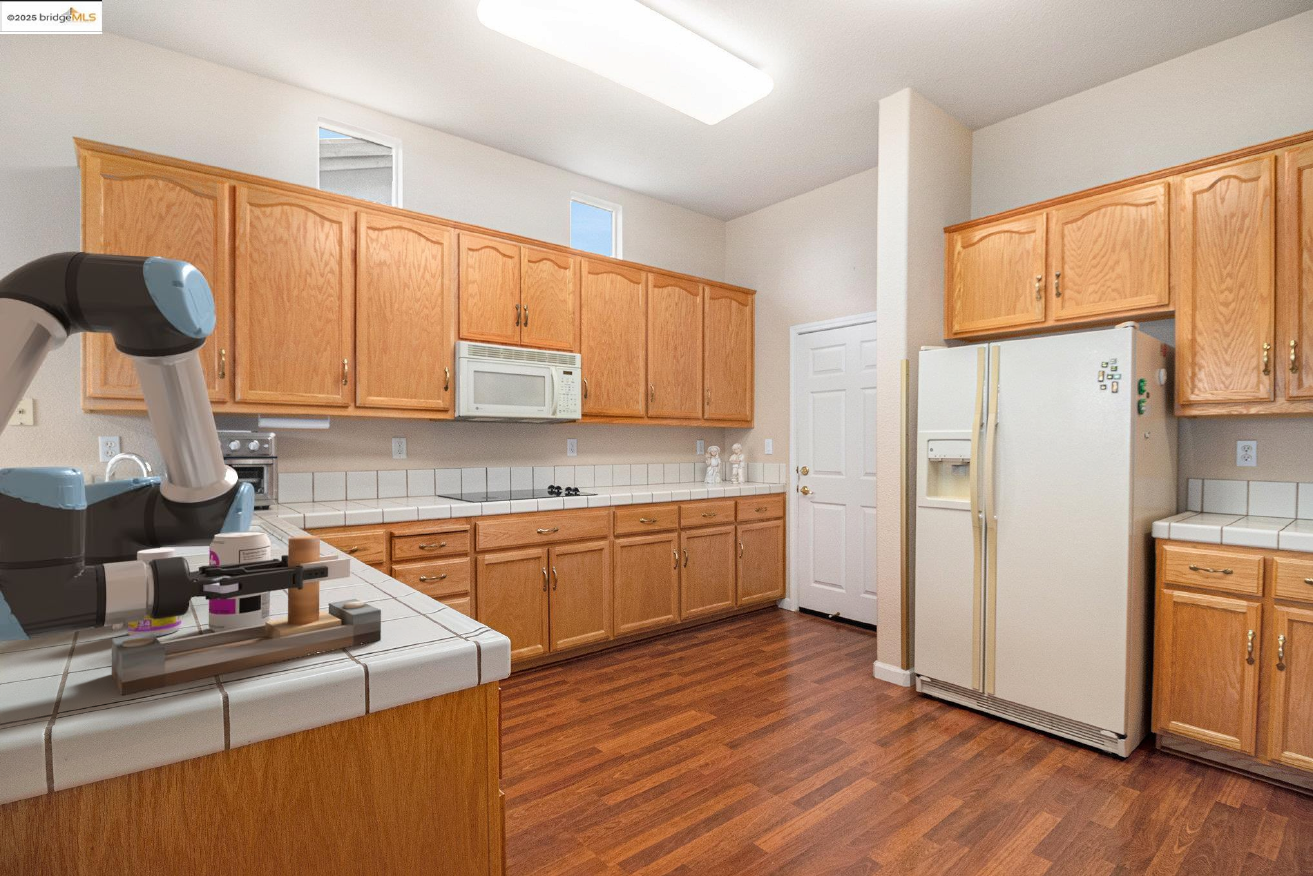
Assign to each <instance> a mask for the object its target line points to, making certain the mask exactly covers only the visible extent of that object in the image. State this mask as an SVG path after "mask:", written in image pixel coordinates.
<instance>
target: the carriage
mask: <svg viewBox="0 0 1313 876" xmlns="http://www.w3.org/2000/svg"><path fill="white" fill-rule="evenodd" d="M287 541H288V551H287V552H288V553H287V555H288V567H292V566H297V565H300V564H303V563H312V562H320V556H321V553H320V549H321V548H320V547H321V545H320V543H321V542H320V541H321V537H320V536H318V535H315V536H314V535H307V536H306V535H305V536H303V535H302V536H295V537H294V536H293V537H289V538H288V540H287ZM337 626H341V620H340V619H338V618H336V617H335V616H333V615H331V614H329V612H326V611H325V610H324V611H320V581H317V582H310V583H303V589H301V590H298V588H289V589H287V617H285V618H284V617H283V618H278V619H273V620H271V619H270V620H269V621H265V636H267V637H268V638H270V639H274V638H279V637H284V636H290V635H295V634H300V633H306V632H311V631H316V630H321V629H327V628H332V627H337Z"/></svg>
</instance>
